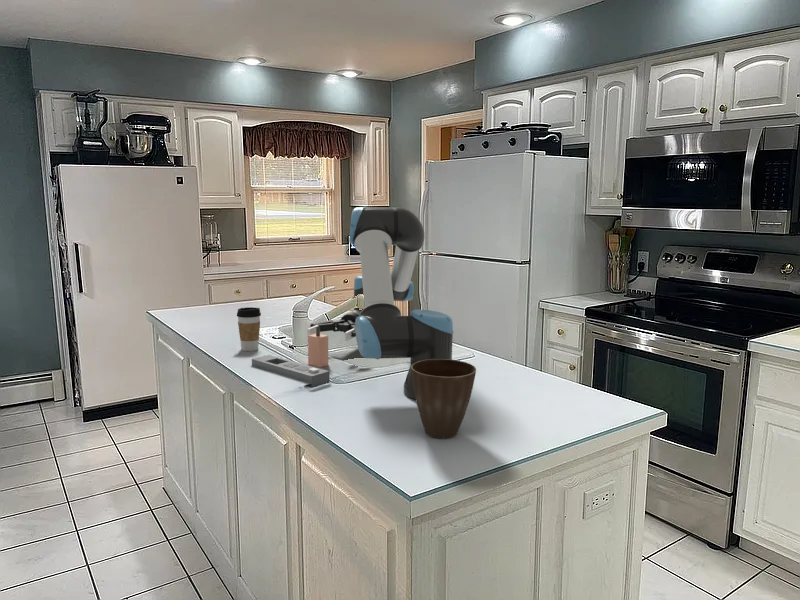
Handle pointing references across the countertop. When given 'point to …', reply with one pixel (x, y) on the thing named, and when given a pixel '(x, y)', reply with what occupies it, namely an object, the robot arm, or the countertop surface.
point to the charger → (318, 349)
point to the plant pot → (442, 394)
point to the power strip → (293, 370)
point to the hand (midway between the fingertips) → (327, 334)
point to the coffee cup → (249, 328)
